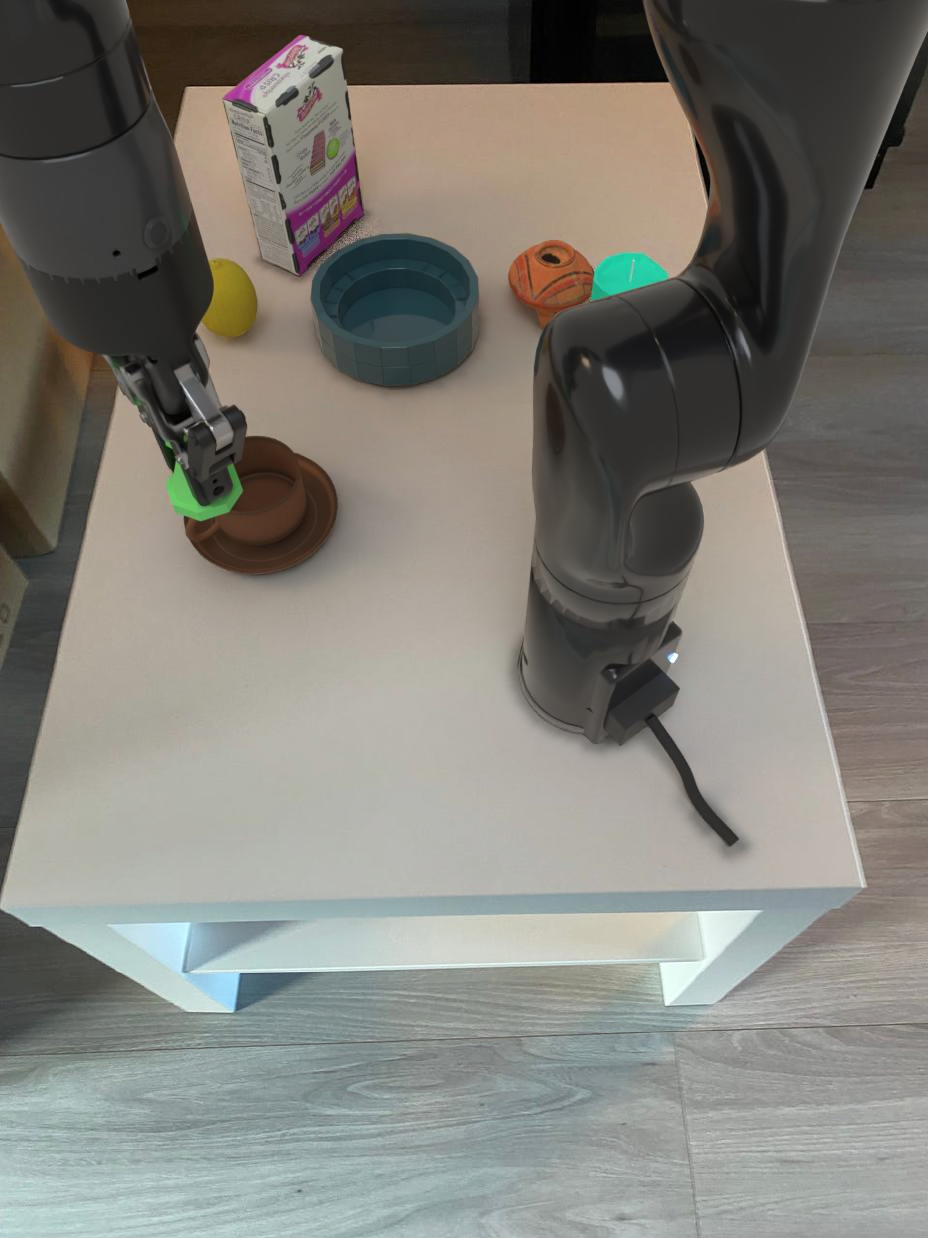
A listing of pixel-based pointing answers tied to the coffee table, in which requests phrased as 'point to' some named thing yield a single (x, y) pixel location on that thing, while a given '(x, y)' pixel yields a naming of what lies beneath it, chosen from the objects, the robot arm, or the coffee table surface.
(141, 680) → the coffee table surface
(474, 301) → the bowl
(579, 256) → the pot
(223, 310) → the lemon
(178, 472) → the game piece
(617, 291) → the candle
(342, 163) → the candy bar box
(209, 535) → the cup and saucer
